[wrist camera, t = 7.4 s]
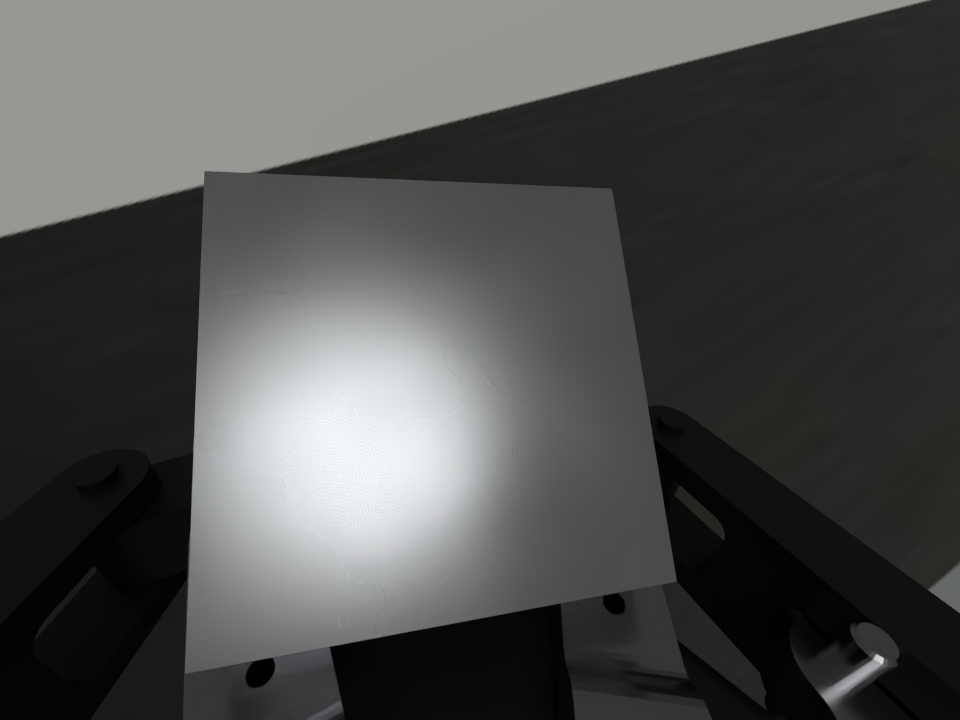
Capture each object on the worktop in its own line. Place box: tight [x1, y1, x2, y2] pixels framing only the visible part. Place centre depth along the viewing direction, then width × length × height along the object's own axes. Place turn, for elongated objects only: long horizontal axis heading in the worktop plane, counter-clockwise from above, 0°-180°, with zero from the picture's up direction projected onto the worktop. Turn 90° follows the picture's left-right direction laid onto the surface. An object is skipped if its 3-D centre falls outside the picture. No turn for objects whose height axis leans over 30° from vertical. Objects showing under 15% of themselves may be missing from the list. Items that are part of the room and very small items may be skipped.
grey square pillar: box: [185, 171, 677, 674], centre depth 11 cm, size 4×4×14 cm
